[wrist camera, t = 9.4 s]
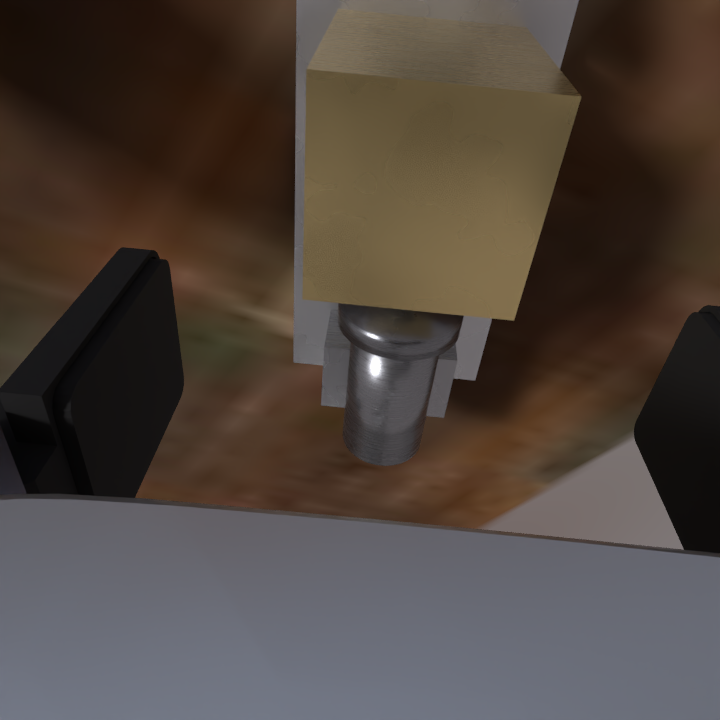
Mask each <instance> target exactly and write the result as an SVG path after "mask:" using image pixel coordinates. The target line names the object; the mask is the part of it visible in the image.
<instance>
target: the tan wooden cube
mask: <svg viewBox="0 0 720 720" xmlns="http://www.w3.org/2000/svg"><path fill="white" fill-rule="evenodd" d="M580 100H581V95H580V94H579V93H578V92H577V90H576V89H575V88H574V86H573V85H572V84H571V83H570V81H569V80H568V79H567V78H566V76H565V75H564V74H563V73H562V71H561V70H560V69H559V68H558V66H557V65H556V64H555V63H554V61H553V60H552V59H551V58H550V56H549V55H548V54H547V53H546V51H545V50H544V49H543V48H542V46H541V45H540V44H539V43H538V41H537V40H536V39H535V38H534V36H533V35H532V34H531V33H530V31H529V30H528V29H527V28H526V27H516V26H506V25H496V24H486V23H476V22H466V21H456V20H446V19H436V18H427V17H417V16H407V15H397V14H387V13H377V12H367V11H357V10H347V9H338V10H337V12H336V14H335V16H334V18H333V20H332V22H331V24H330V25H329V27H328V29H327V31H326V33H325V35H324V37H323V39H322V41H321V43H320V44H319V46H318V48H317V50H316V52H315V54H314V56H313V58H312V60H311V61H310V63H309V65H308V67H307V69H306V123H305V179H304V235H303V291H302V300H312V301H322V302H332V303H342V304H352V305H362V306H372V307H382V308H392V309H402V310H412V311H422V312H432V313H442V314H452V315H462V316H472V317H482V318H492V319H502V320H512V321H514V319H515V316H516V313H517V309H518V306H519V303H520V299H521V296H522V293H523V289H524V286H525V283H526V279H527V276H528V273H529V269H530V266H531V263H532V260H533V256H534V253H535V250H536V246H537V243H538V240H539V236H540V233H541V230H542V226H543V223H544V220H545V216H546V213H547V210H548V206H549V203H550V200H551V196H552V193H553V190H554V187H555V183H556V180H557V177H558V173H559V170H560V167H561V163H562V160H563V157H564V153H565V150H566V147H567V143H568V140H569V137H570V133H571V130H572V127H573V124H574V120H575V117H576V114H577V110H578V107H579V104H580Z"/></svg>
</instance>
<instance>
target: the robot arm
mask: <svg viewBox="0 0 720 720" xmlns="http://www.w3.org/2000/svg"><path fill="white" fill-rule="evenodd" d="M183 386H184V375H183V368H182V360H181V352H180V344H179V336H178V329H177V321H176V313H175V305H174V297H173V290H172V282H171V274H170V267H169V264H168V261H167V260H163V259H159V256H158V254H157V252H156V251H154V250H144V249H134V248H120V249H119V250H118V251H117V252H116V254H115V255H114V256H113V257H112V258H111V259H110V261H109V262H108V263H107V264H106V265H105V266H104V268H103V269H102V270H101V271H100V272H99V274H98V275H97V276H96V277H95V278H94V279H93V281H92V282H91V283H90V284H89V285H88V286H87V288H86V289H85V290H84V291H83V292H82V293H81V295H80V296H79V297H78V298H77V299H76V300H75V302H74V303H73V304H72V305H71V306H70V307H69V309H68V310H67V311H66V312H65V313H64V315H63V316H62V317H61V318H60V319H59V320H58V321H57V322H56V324H55V325H54V326H53V327H52V328H51V329H50V331H49V332H48V333H47V334H46V335H45V336H44V338H43V339H42V340H41V341H40V342H39V343H38V345H37V346H36V347H35V348H34V349H33V350H32V352H31V353H30V354H29V355H28V356H27V358H26V359H25V360H24V361H23V362H22V363H21V365H20V366H19V367H18V368H17V369H16V370H15V372H14V373H13V374H12V375H11V376H10V377H9V379H8V380H7V381H6V382H5V383H4V384H3V386H2V387H1V388H0V720H720V306H710V305H707V306H705V307H703V308H702V309H701V310H700V311H699V312H694V313H692V314H691V315H690V316H689V317H688V319H687V320H686V322H685V324H684V326H683V328H682V330H681V332H680V334H679V336H678V338H677V340H676V342H675V344H674V346H673V348H672V350H671V352H670V354H669V356H668V358H667V360H666V362H665V364H664V366H663V368H662V370H661V372H660V374H659V376H658V378H657V380H656V382H655V384H654V386H653V388H652V390H651V392H650V395H649V397H648V399H647V401H646V403H645V405H644V407H643V409H642V411H641V413H640V415H639V417H638V419H637V421H636V423H635V428H634V437H635V441H636V444H637V446H638V448H639V450H640V453H641V455H642V457H643V459H644V462H645V464H646V466H647V468H648V470H649V473H650V475H651V477H652V479H653V481H654V484H655V486H656V488H657V490H658V493H659V495H660V497H661V499H662V501H663V504H664V506H665V508H666V510H667V512H668V515H669V517H670V519H671V521H672V523H673V526H674V528H675V530H676V533H677V535H678V537H679V539H680V541H681V544H682V546H683V548H684V550H681V549H670V548H662V547H652V546H642V545H632V544H623V543H613V542H603V541H593V540H582V539H573V538H563V537H553V536H542V535H533V534H522V533H512V532H501V531H492V530H482V529H471V528H461V527H450V526H440V525H429V524H419V523H409V522H398V521H388V520H377V519H366V518H355V517H344V516H334V515H323V514H312V513H301V512H290V511H279V510H268V509H257V508H246V507H235V506H224V505H213V504H202V503H190V502H178V501H167V500H155V499H143V498H135V496H136V494H137V492H138V489H139V487H140V485H141V483H142V481H143V478H144V476H145V474H146V472H147V470H148V468H149V465H150V463H151V461H152V459H153V457H154V455H155V452H156V450H157V448H158V446H159V444H160V442H161V439H162V437H163V435H164V433H165V431H166V428H167V426H168V424H169V422H170V420H171V418H172V415H173V413H174V411H175V409H176V407H177V405H178V402H179V400H180V398H181V395H182V392H183Z"/></svg>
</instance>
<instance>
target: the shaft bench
mask: <svg viewBox="0 0 720 720" xmlns="http://www.w3.org/2000/svg"><path fill="white" fill-rule="evenodd" d="M578 2H579V0H297V17H296V135H295V253H294V362H295V363H305V364H315V365H323V379H322V399H321V405H324V406H333V407H343V408H345V413H344V424H343V439H344V442H345V444H346V446H347V448H348V449H349V450H350V451H351V452H352V453H353V454H354V455H355V456H356V457H358V458H359V459H361V460H363V461H365V462H368V463H371V464H375V465H384V466H387V465H396V464H400V463H402V462H405V461H407V460H409V459H410V458H411V457H413V456H414V455H415V454H416V452H417V451H418V449H419V447H420V443H421V438H422V433H423V429H424V424H425V419H426V416H433V417H443V418H444V415H445V411H446V407H447V403H448V398H449V394H450V390H451V386H452V382H453V378H454V379H464V380H474V381H475V380H476V376H477V372H478V369H479V365H480V361H481V358H482V354H483V350H484V347H485V343H486V339H487V336H488V332H489V328H490V325H491V321H492V318H482V317H472V316H462V315H452V314H442V313H432V312H422V311H412V310H402V309H392V308H382V307H372V306H362V305H352V304H342V303H332V302H322V301H312V300H302V291H303V235H304V179H305V123H306V69H307V67H308V65H309V63H310V61H311V60H312V58H313V56H314V54H315V52H316V50H317V48H318V46H319V44H320V43H321V41H322V39H323V37H324V35H325V33H326V31H327V29H328V27H329V25H330V24H331V22H332V20H333V18H334V16H335V14H336V12H337V10H338V9H347V10H357V11H367V12H377V13H387V14H397V15H407V16H417V17H427V18H436V19H446V20H456V21H466V22H476V23H486V24H496V25H506V26H516V27H526V28H527V29H528V30H529V31H530V33H531V34H532V35H533V36H534V38H535V39H536V40H537V41H538V43H539V44H540V45H541V46H542V48H543V49H544V50H545V51H546V53H547V54H548V55H549V56H550V58H551V59H552V60H553V61H554V63H555V64H556V65H557V66H558V68H559V69H560V68H561V64H562V60H563V57H564V53H565V49H566V46H567V42H568V38H569V35H570V31H571V27H572V24H573V20H574V16H575V13H576V9H577V5H578Z"/></svg>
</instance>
